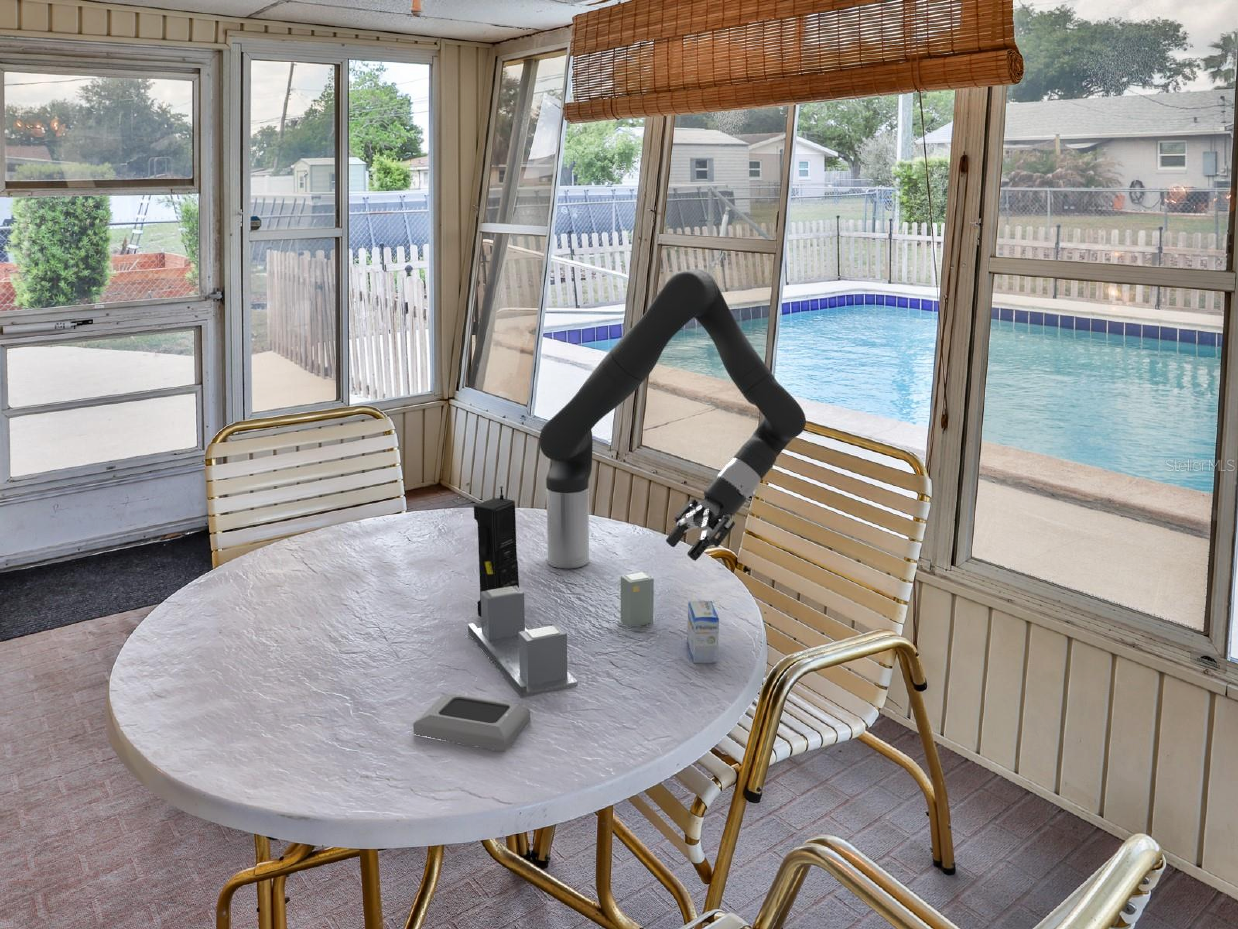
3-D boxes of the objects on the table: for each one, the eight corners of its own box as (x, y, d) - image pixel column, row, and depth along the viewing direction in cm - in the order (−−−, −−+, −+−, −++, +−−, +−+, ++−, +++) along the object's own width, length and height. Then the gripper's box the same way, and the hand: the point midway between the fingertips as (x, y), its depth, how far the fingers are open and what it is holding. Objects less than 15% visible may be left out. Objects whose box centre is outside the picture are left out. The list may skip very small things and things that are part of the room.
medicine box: (686, 645, 187) (687, 600, 185) (710, 644, 187) (712, 599, 185) (693, 664, 179) (694, 617, 177) (718, 663, 180) (719, 616, 178)
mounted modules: (481, 632, 190) (480, 590, 188) (517, 625, 193) (516, 584, 191) (528, 686, 169) (527, 640, 167) (567, 677, 172) (566, 632, 170)
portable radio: (498, 625, 195) (494, 499, 189) (473, 619, 198) (468, 494, 192) (523, 612, 202) (520, 489, 195) (499, 605, 205) (495, 484, 198)
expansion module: (620, 619, 198) (620, 574, 196) (643, 615, 200) (643, 570, 198) (629, 627, 195) (630, 581, 192) (653, 622, 197) (653, 577, 194)
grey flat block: (442, 688, 163) (530, 702, 159) (443, 709, 164) (530, 723, 160) (412, 716, 154) (504, 731, 150) (414, 738, 155) (505, 754, 151)
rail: (468, 634, 191) (468, 624, 191) (519, 624, 196) (518, 615, 195) (521, 698, 167) (520, 687, 166) (577, 686, 171) (577, 675, 171)
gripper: (702, 466, 204) (650, 529, 203) (741, 484, 192) (686, 551, 190) (724, 489, 208) (673, 551, 206) (763, 507, 196) (710, 573, 194)
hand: (679, 551), depth 198 cm, fingers open, 8 cm apart
